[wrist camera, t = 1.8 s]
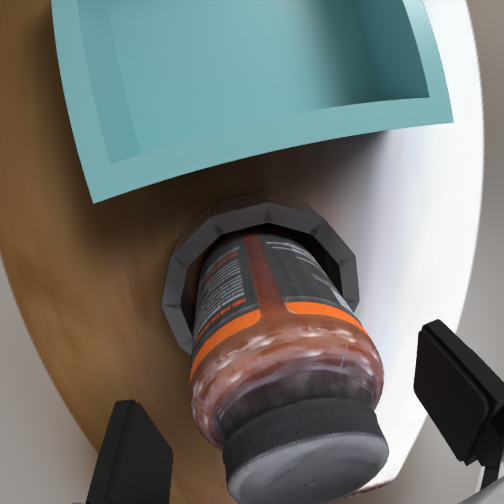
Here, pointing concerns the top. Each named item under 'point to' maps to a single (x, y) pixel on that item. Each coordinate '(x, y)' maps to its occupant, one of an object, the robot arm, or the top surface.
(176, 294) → the collar
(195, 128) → the bin
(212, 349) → the supplement bottle
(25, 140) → the top surface
